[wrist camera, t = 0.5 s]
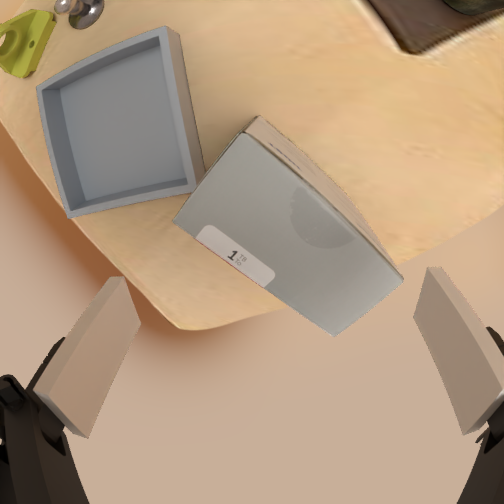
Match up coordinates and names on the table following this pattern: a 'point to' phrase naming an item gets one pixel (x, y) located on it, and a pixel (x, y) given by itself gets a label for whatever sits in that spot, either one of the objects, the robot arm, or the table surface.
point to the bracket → (25, 41)
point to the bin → (122, 125)
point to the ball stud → (80, 11)
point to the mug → (475, 5)
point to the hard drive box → (289, 229)
